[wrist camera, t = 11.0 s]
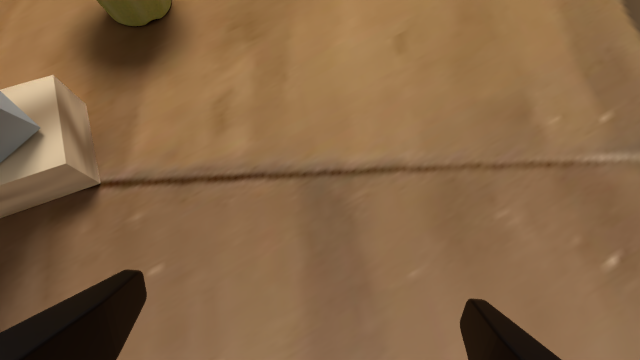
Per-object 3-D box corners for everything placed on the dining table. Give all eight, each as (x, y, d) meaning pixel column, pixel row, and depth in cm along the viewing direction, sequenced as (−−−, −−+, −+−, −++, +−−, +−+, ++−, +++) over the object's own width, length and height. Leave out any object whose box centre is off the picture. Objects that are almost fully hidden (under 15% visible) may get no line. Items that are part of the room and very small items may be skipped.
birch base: (103, 184, 24) (66, 163, 21) (-9, 223, 23) (-70, 208, 19) (88, 106, 27) (53, 74, 23) (-13, 137, 26) (-67, 108, 22)
